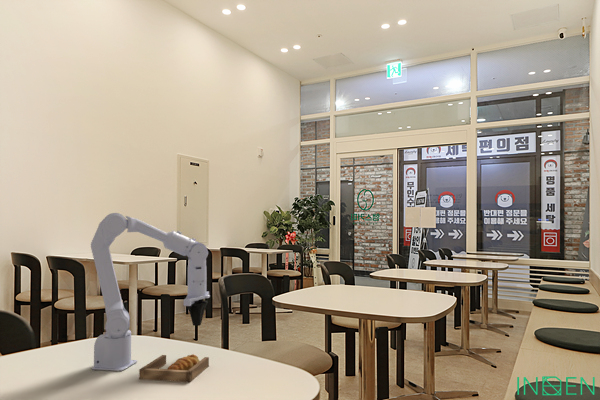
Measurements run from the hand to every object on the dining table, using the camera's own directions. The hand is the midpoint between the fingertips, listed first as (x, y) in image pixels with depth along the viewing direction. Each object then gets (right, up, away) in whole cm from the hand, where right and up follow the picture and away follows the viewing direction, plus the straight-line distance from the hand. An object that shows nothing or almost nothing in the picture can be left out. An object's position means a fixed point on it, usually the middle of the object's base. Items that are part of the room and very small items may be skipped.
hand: (196, 325), depth 130 cm
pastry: (0, -9, -13) cm, 16 cm away
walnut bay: (-2, -9, -14) cm, 16 cm away
